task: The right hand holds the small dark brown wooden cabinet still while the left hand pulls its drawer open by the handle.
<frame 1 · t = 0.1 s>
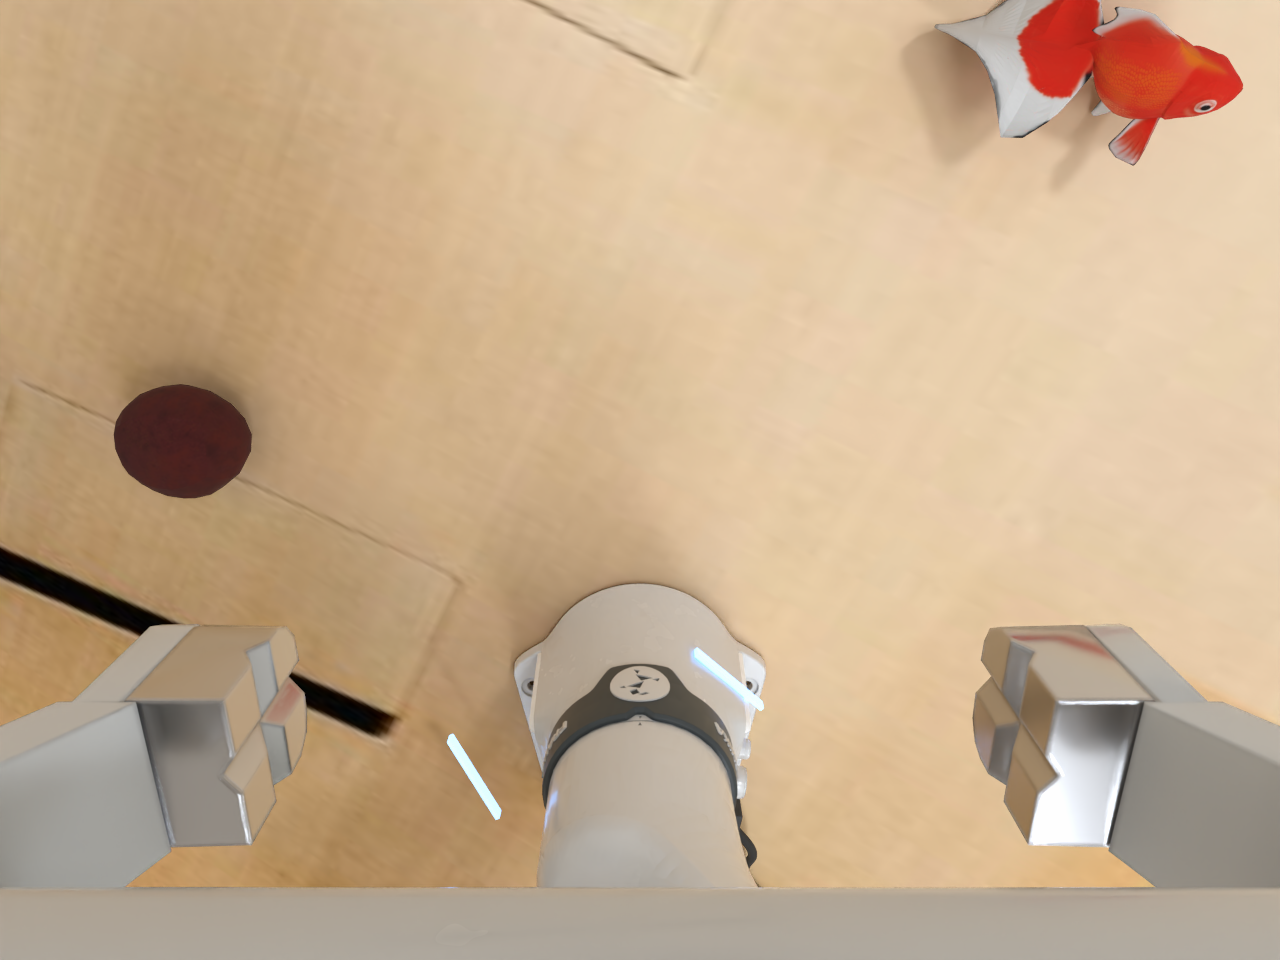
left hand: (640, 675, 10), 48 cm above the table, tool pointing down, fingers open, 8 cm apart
fish: (1047, 67, 52), on the table
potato: (212, 425, 59), on the table
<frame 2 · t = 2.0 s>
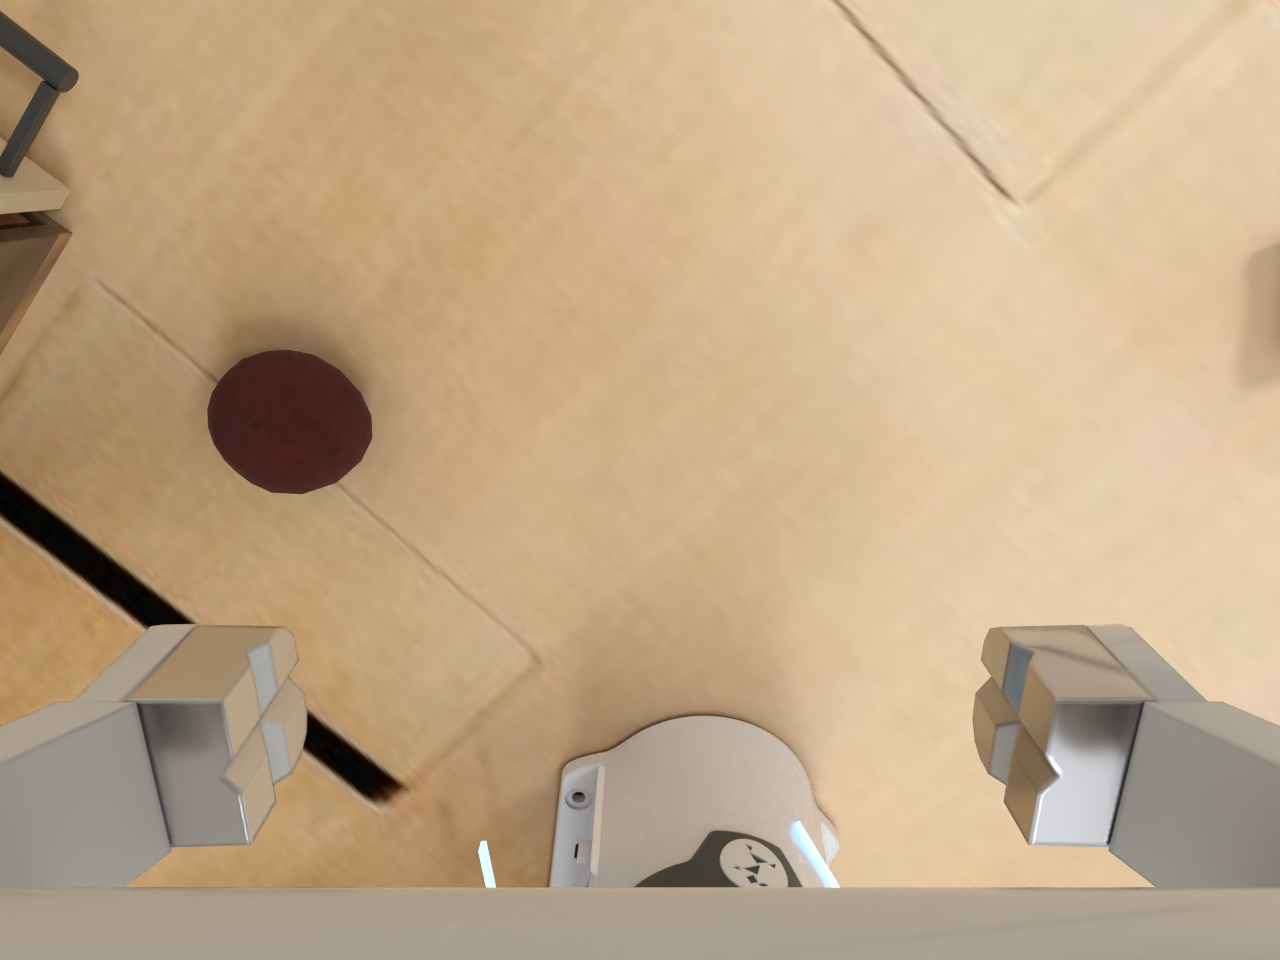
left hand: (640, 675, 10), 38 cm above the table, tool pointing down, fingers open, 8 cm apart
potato: (317, 404, 48), on the table
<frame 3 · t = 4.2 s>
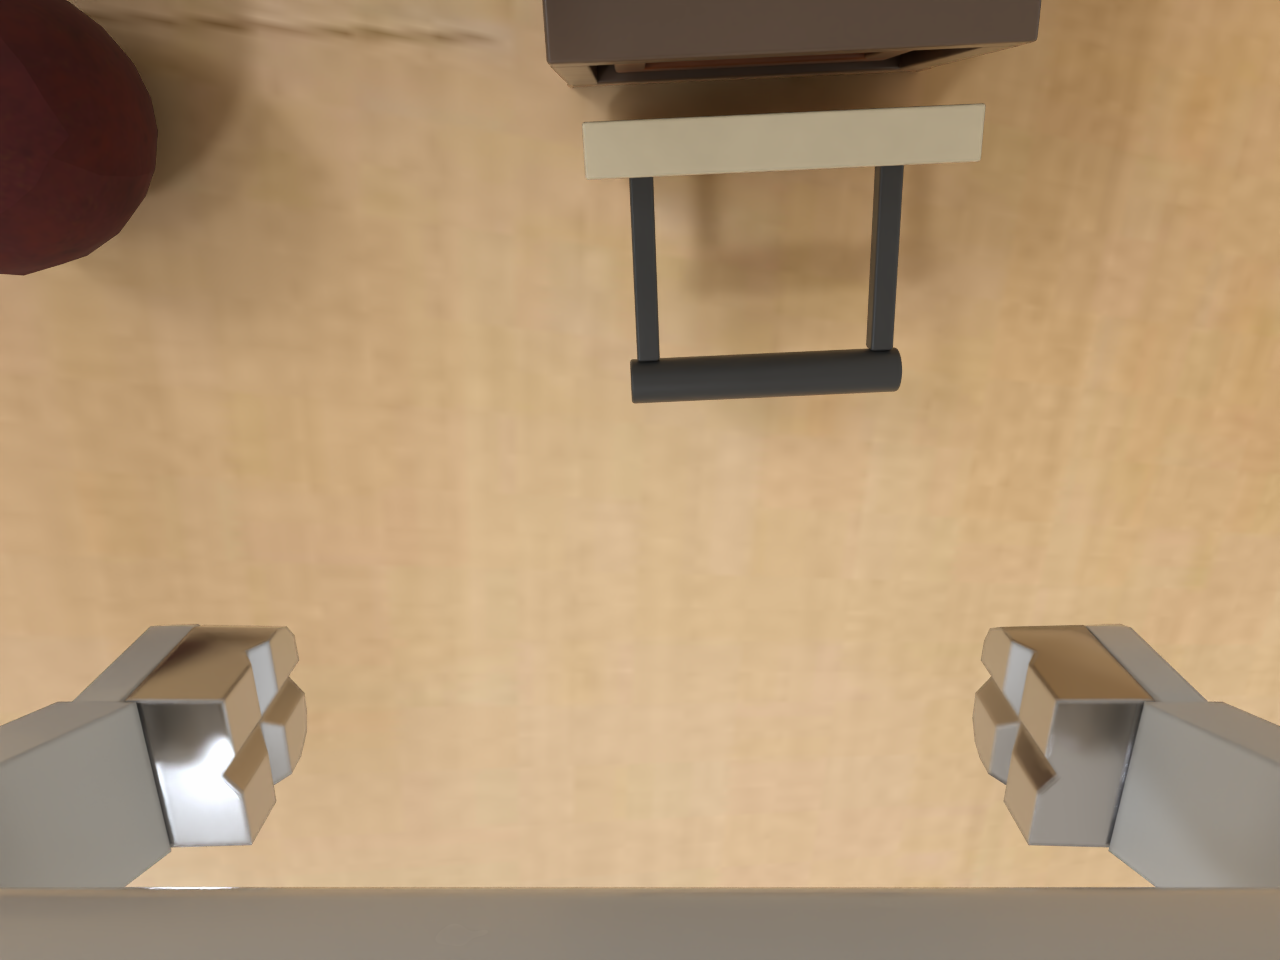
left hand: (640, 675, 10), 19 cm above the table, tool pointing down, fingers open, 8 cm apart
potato: (70, 126, 25), on the table
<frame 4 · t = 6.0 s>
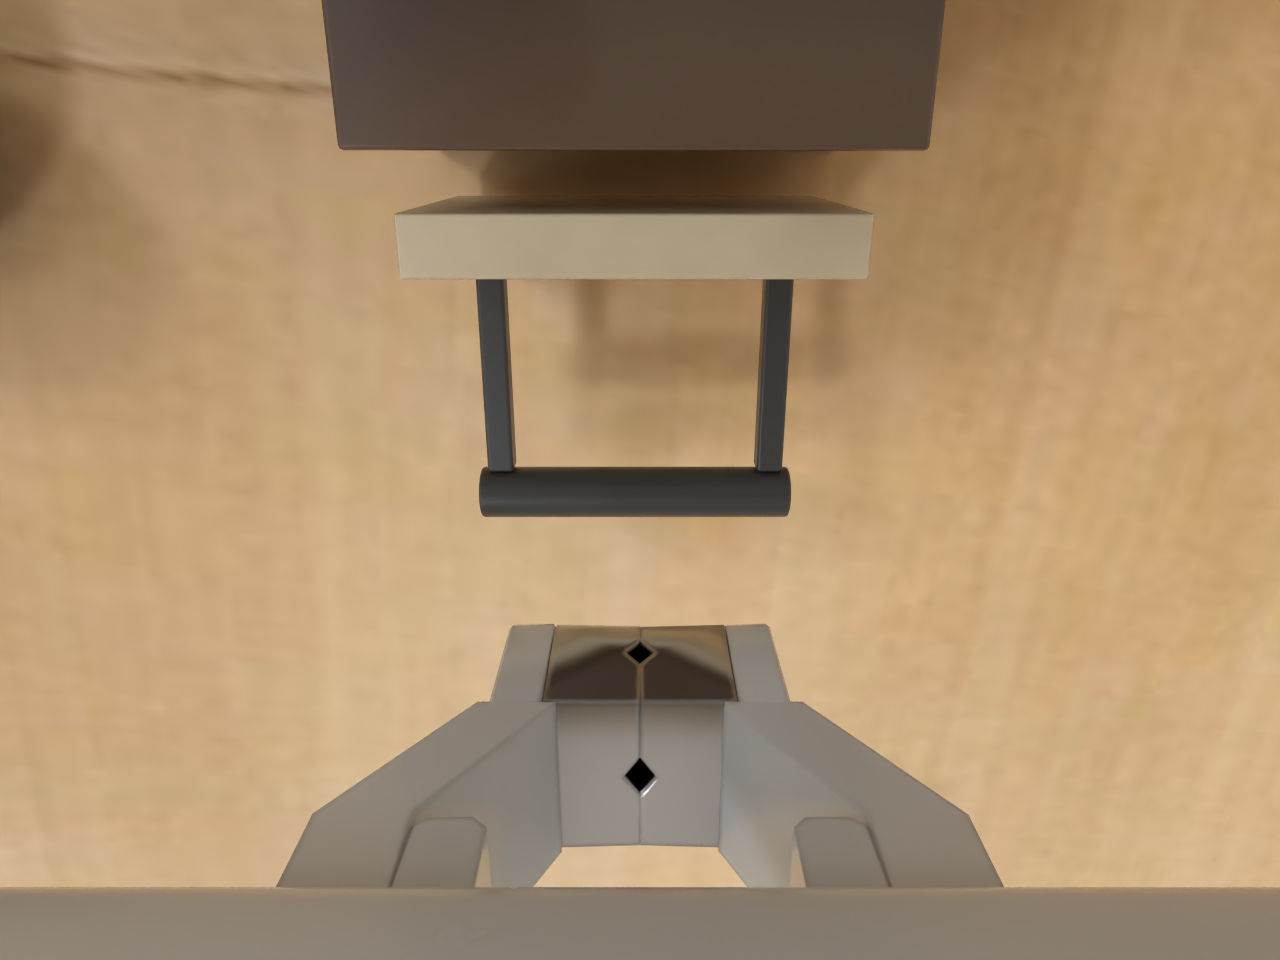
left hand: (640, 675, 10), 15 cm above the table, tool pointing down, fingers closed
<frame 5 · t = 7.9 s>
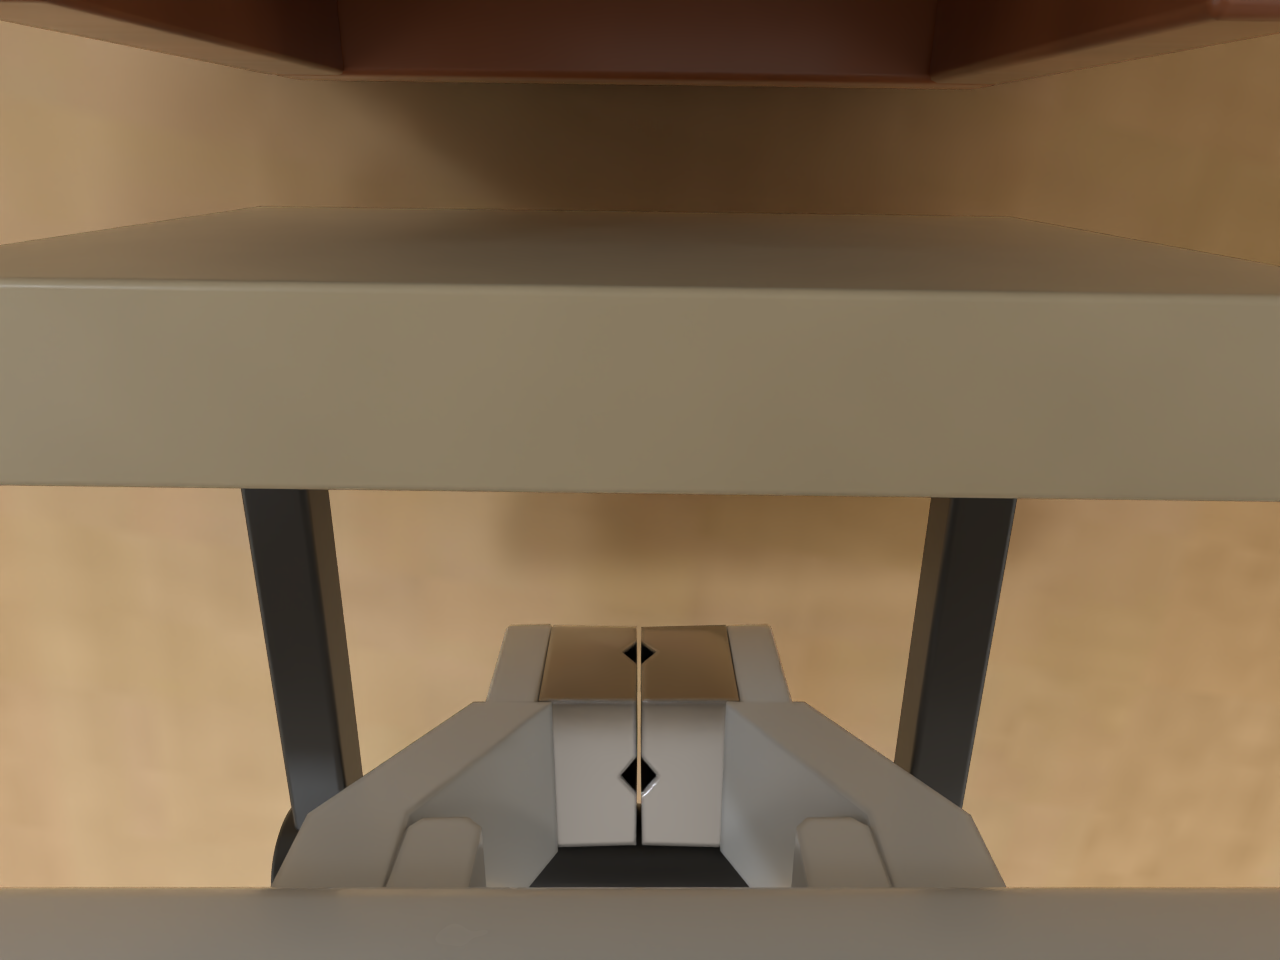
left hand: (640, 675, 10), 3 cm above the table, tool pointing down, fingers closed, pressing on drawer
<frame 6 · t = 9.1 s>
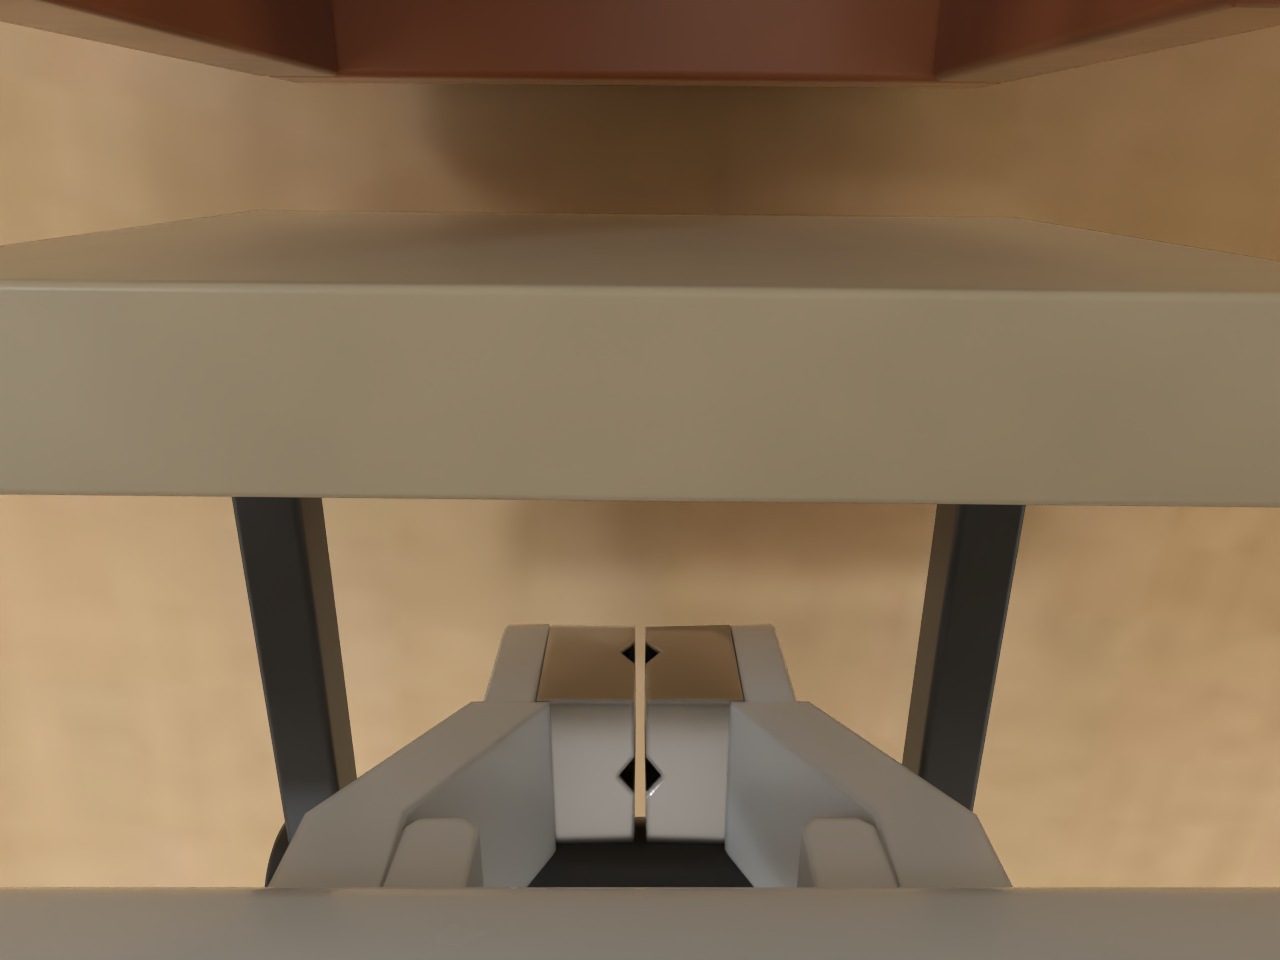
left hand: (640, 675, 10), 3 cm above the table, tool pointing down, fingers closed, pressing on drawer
when the right hand's fingers open (3 cm above the table, at t = 10.5 s): cabinet stays where it is, on the table.
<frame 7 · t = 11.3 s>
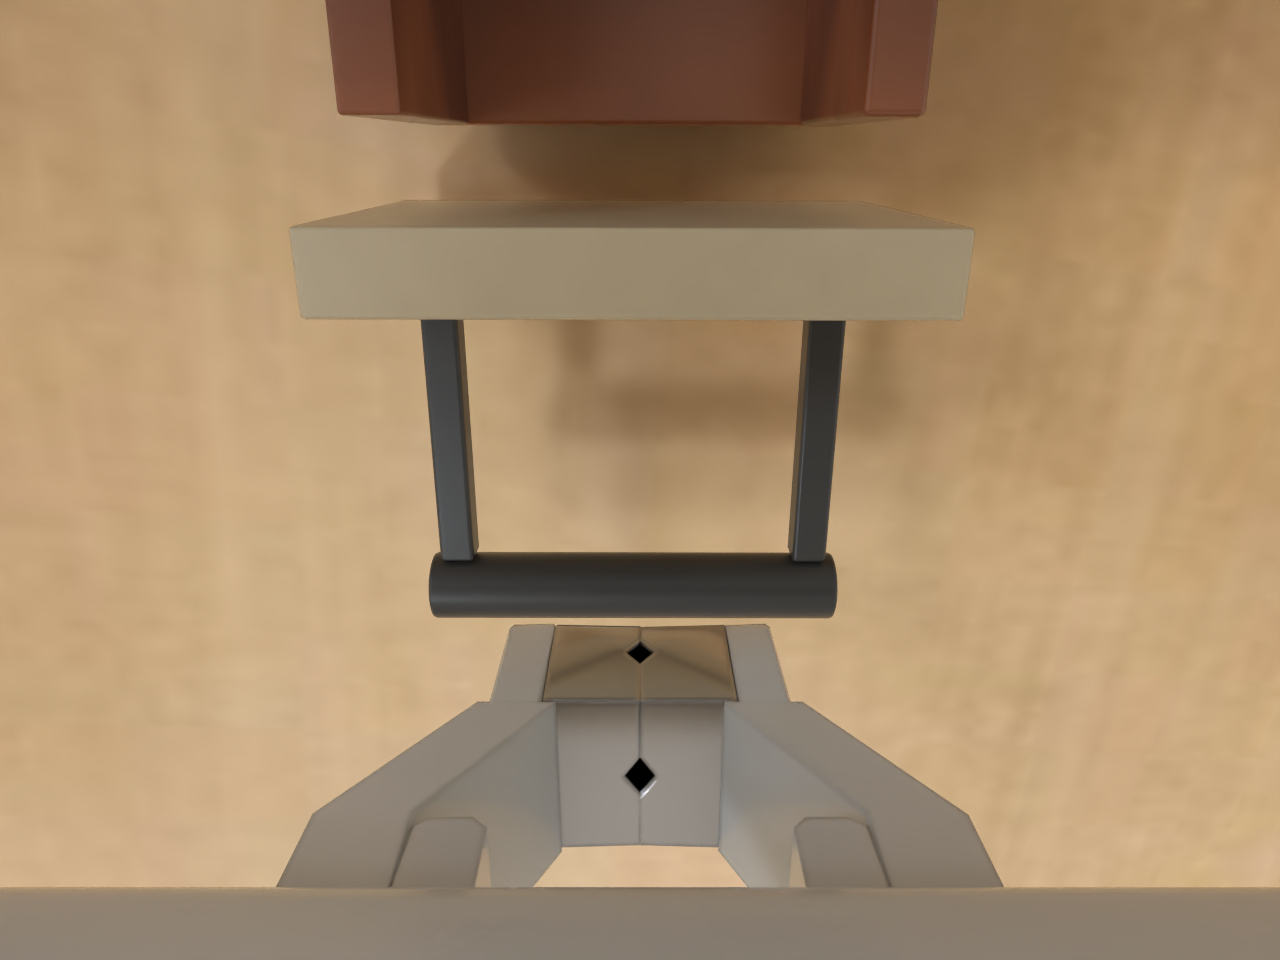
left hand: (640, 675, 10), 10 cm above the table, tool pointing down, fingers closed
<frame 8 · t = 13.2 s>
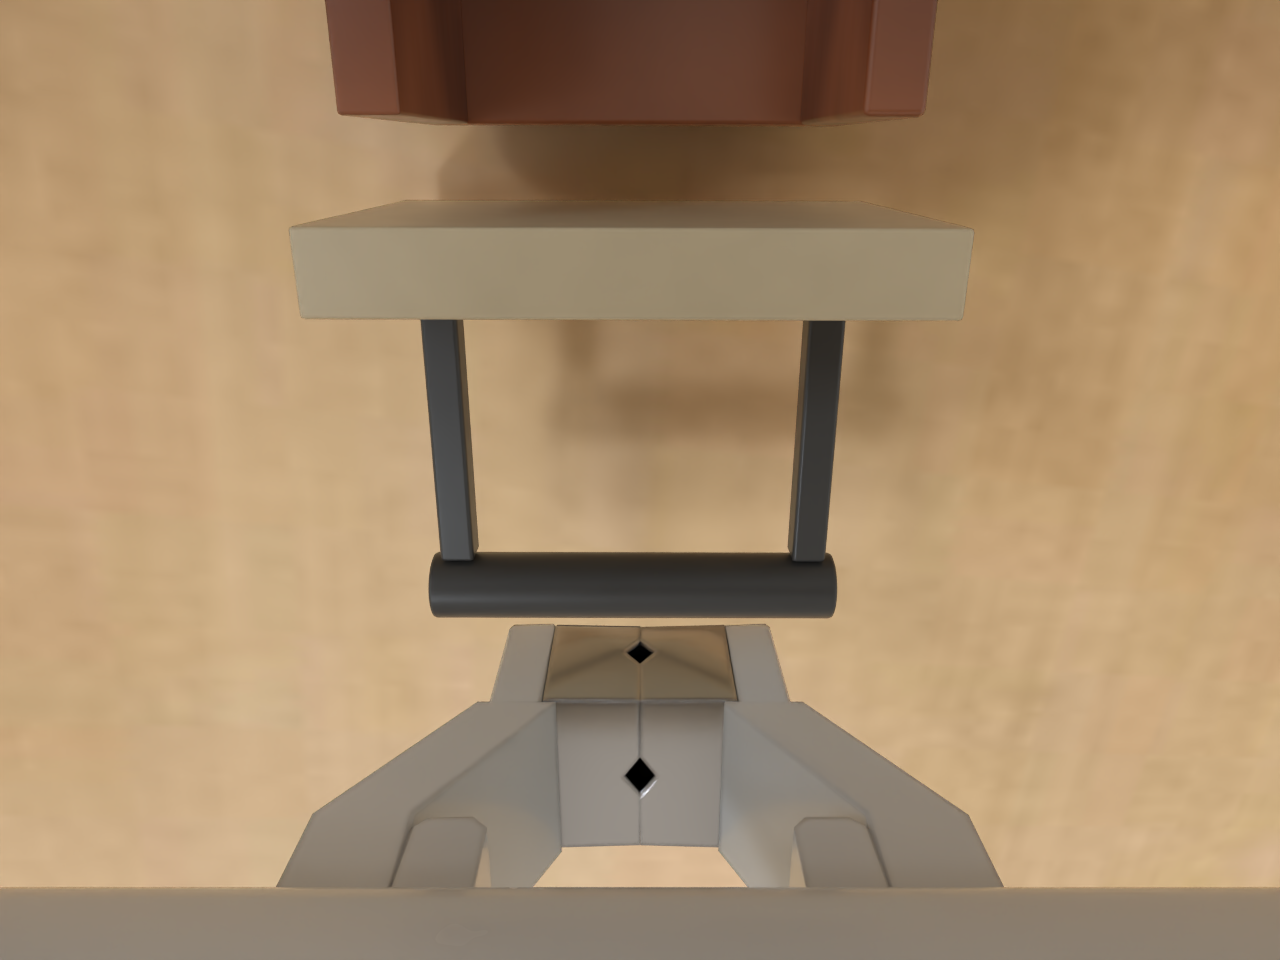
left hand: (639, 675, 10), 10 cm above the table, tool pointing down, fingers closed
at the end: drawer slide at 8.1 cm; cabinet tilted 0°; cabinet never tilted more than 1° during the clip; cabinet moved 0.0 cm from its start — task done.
